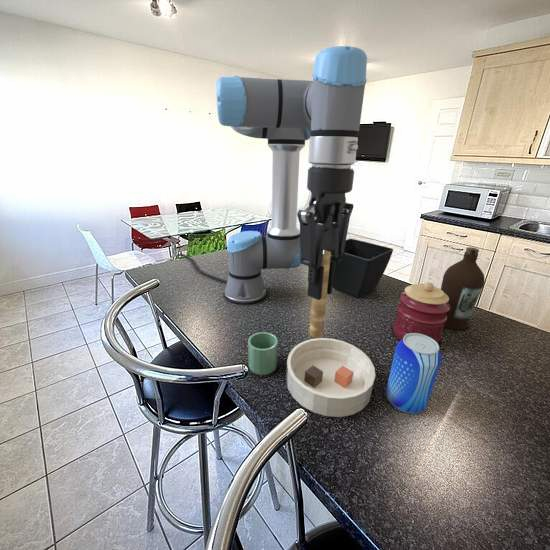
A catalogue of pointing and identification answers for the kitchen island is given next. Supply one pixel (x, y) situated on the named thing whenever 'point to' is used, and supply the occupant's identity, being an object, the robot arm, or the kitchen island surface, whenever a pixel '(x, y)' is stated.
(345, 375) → the terracotta block
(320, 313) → the stir stick
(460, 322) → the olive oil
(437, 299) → the kitchen canister
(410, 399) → the beer can
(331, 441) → the kitchen island surface
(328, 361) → the bowl
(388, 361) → the kitchen island surface
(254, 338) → the cup
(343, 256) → the flower pot
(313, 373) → the walnut block
